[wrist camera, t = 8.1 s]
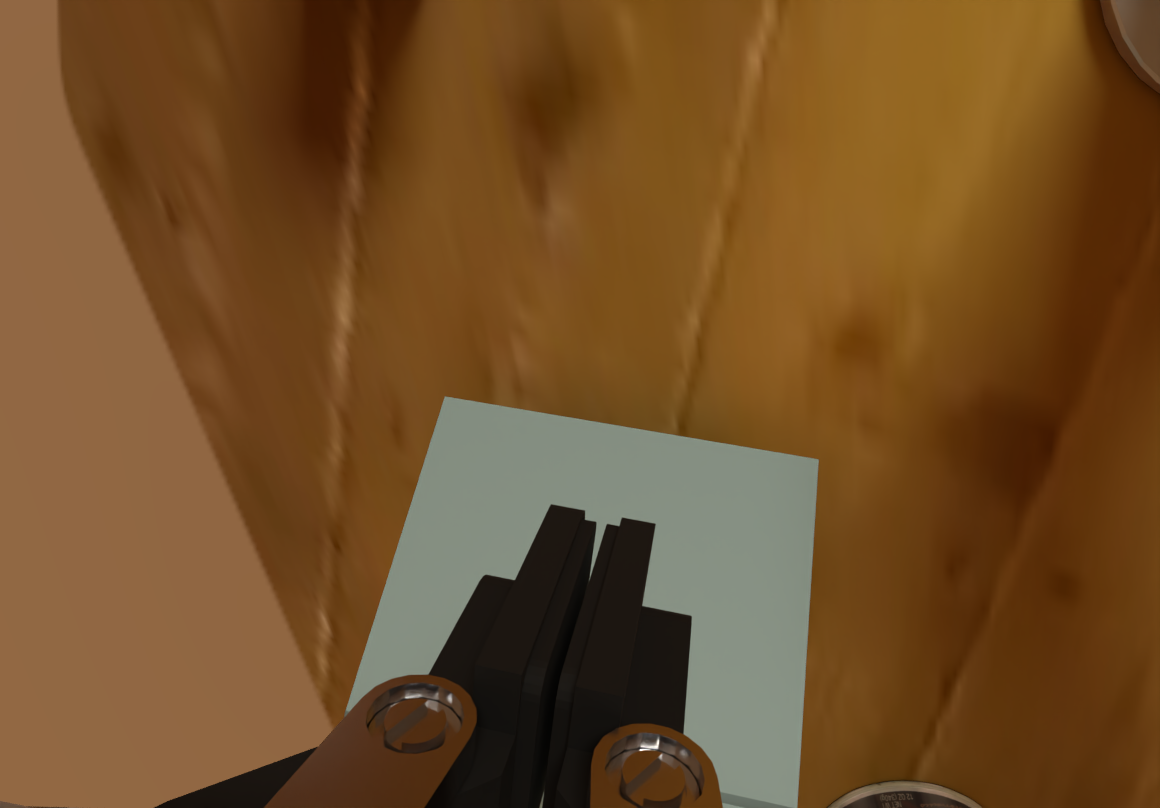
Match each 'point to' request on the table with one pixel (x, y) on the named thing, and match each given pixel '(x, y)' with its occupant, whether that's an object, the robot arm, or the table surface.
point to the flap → (675, 575)
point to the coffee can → (904, 796)
